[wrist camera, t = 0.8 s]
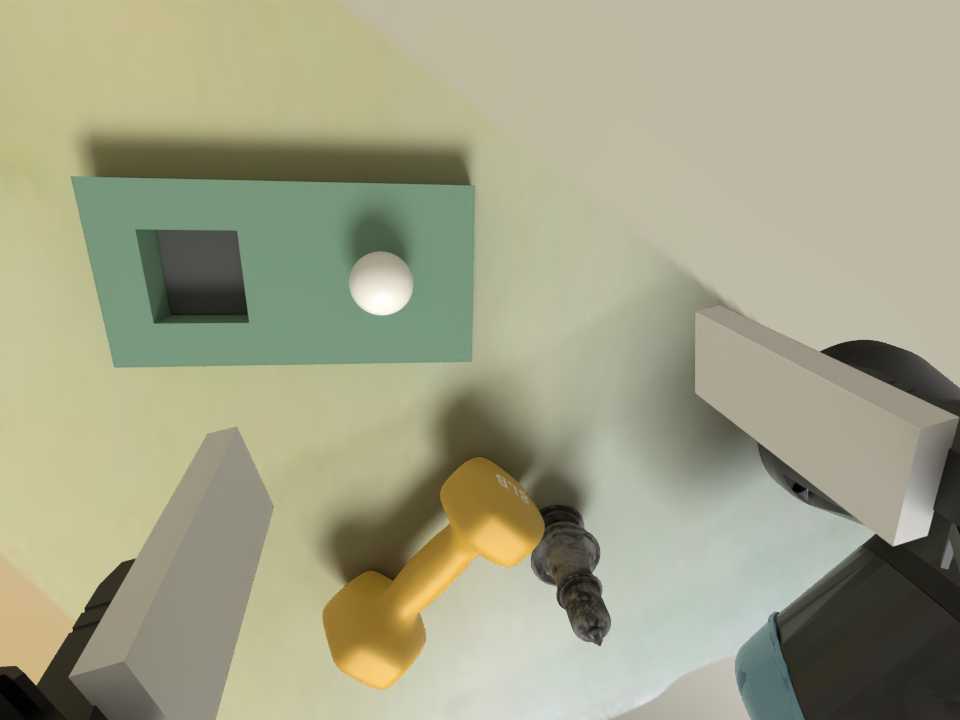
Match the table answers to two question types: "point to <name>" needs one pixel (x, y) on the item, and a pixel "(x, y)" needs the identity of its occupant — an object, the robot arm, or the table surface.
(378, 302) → the ball
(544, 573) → the dark grey chess piece
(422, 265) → the green
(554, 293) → the table surface
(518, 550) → the dumbbell
